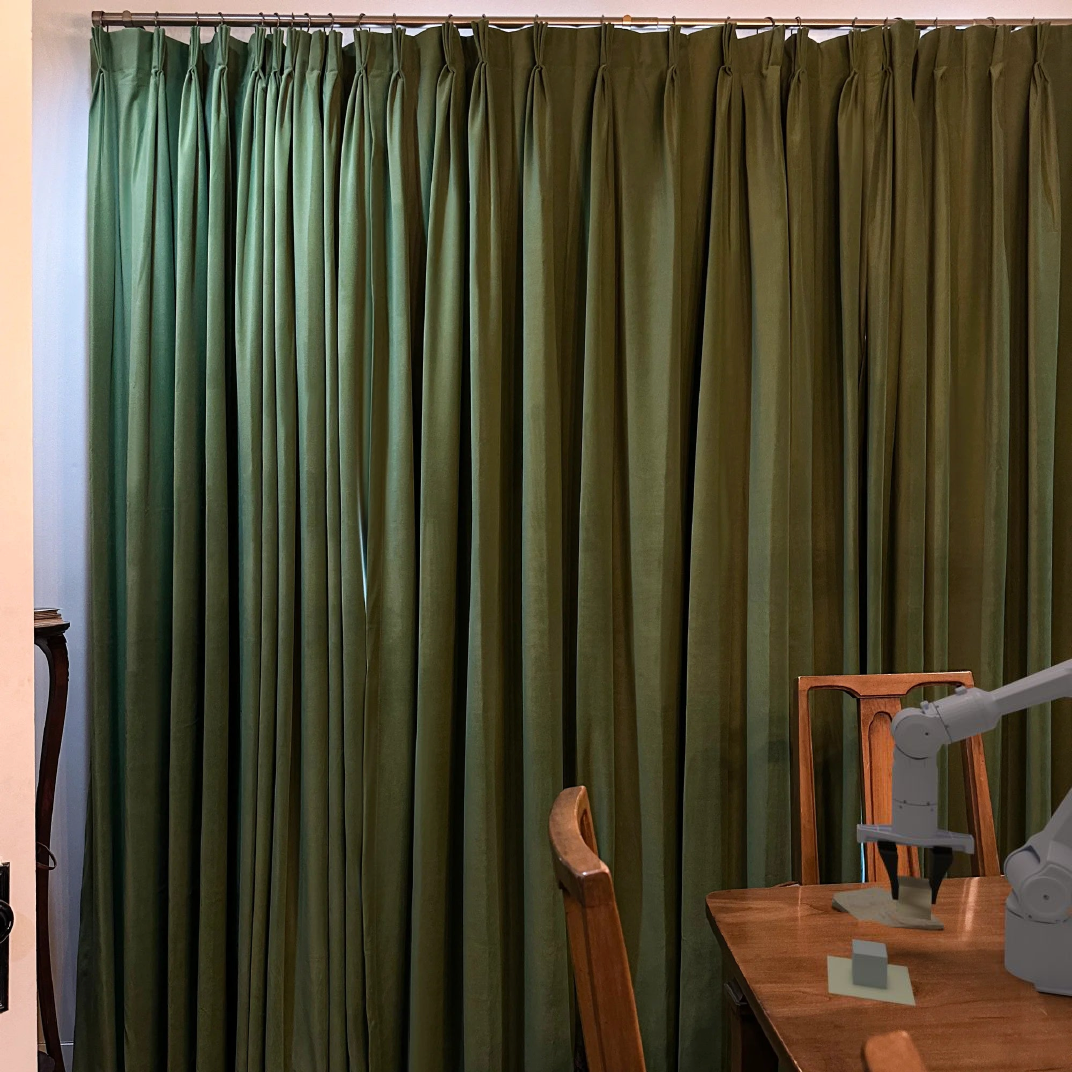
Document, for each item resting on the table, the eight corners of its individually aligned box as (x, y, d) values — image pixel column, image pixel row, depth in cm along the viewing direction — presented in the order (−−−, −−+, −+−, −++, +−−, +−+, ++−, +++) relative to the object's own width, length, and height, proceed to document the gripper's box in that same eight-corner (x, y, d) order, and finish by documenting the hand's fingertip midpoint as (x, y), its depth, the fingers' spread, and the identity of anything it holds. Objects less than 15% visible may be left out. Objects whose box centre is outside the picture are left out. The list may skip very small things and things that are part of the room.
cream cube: (927, 907, 124) (927, 878, 124) (930, 920, 120) (931, 890, 120) (895, 903, 125) (896, 875, 125) (898, 915, 122) (899, 886, 122)
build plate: (906, 974, 120) (906, 966, 120) (915, 1013, 110) (915, 1005, 110) (826, 963, 122) (827, 955, 122) (828, 1000, 113) (828, 992, 113)
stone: (948, 940, 131) (948, 922, 131) (887, 949, 127) (888, 931, 127) (878, 898, 145) (878, 882, 145) (822, 905, 141) (822, 889, 141)
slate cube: (884, 974, 118) (884, 943, 117) (887, 989, 114) (887, 957, 114) (851, 969, 119) (852, 939, 119) (853, 984, 115) (853, 953, 115)
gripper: (968, 795, 124) (967, 894, 125) (856, 786, 129) (855, 881, 129) (977, 811, 118) (976, 915, 118) (858, 800, 122) (857, 901, 122)
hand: (913, 899), depth 123 cm, fingers closed on cream cube, 4 cm apart
